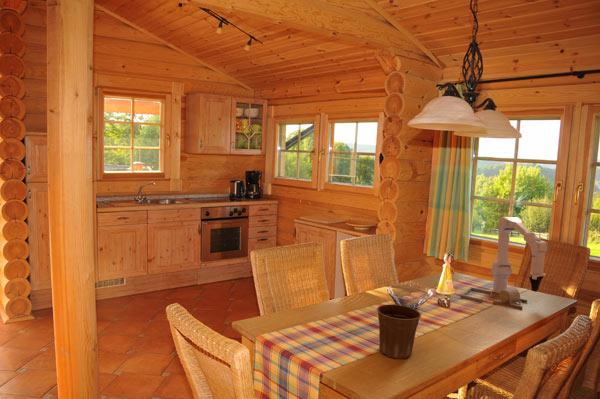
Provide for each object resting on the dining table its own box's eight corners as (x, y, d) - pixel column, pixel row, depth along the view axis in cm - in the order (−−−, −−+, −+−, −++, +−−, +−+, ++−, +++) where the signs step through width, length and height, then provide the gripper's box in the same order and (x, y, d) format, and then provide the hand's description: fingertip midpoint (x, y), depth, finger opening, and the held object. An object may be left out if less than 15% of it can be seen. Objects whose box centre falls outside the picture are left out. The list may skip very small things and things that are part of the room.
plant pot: (411, 343, 179) (414, 304, 177) (423, 362, 163) (426, 319, 161) (370, 342, 178) (373, 303, 177) (378, 361, 162) (381, 318, 160)
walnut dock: (499, 296, 247) (499, 294, 247) (527, 302, 239) (527, 299, 239) (492, 303, 235) (493, 300, 235) (522, 309, 227) (522, 306, 227)
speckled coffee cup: (497, 301, 239) (498, 287, 238) (507, 299, 243) (509, 286, 242) (513, 308, 230) (515, 293, 229) (524, 306, 233) (526, 292, 232)
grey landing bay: (470, 289, 258) (470, 287, 258) (491, 293, 252) (491, 291, 252) (460, 297, 242) (460, 294, 242) (482, 302, 236) (482, 299, 235)
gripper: (544, 268, 220) (541, 295, 222) (548, 263, 232) (545, 288, 233) (528, 265, 224) (525, 292, 226) (533, 261, 236) (530, 286, 237)
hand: (534, 290), depth 230 cm, fingers open, 4 cm apart
